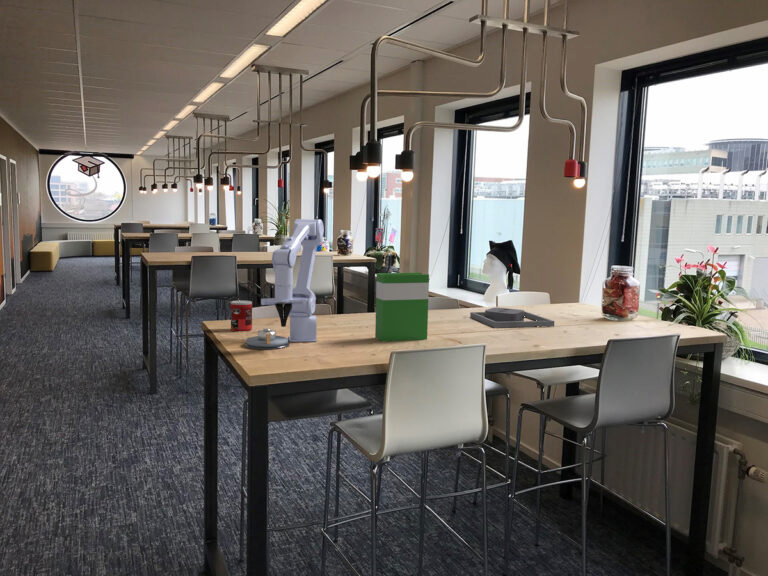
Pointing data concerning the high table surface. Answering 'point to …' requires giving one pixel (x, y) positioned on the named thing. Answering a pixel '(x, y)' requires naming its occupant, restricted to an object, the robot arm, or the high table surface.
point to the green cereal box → (401, 306)
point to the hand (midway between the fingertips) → (283, 326)
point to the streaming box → (504, 314)
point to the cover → (263, 334)
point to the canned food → (241, 315)
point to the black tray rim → (540, 322)
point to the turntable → (267, 341)
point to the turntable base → (266, 347)
